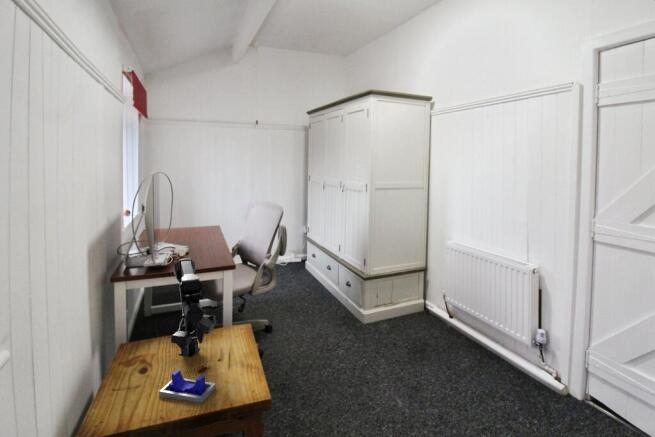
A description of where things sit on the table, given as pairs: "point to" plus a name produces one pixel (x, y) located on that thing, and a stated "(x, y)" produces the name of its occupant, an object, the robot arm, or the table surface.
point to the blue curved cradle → (186, 384)
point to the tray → (188, 396)
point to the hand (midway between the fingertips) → (193, 349)
